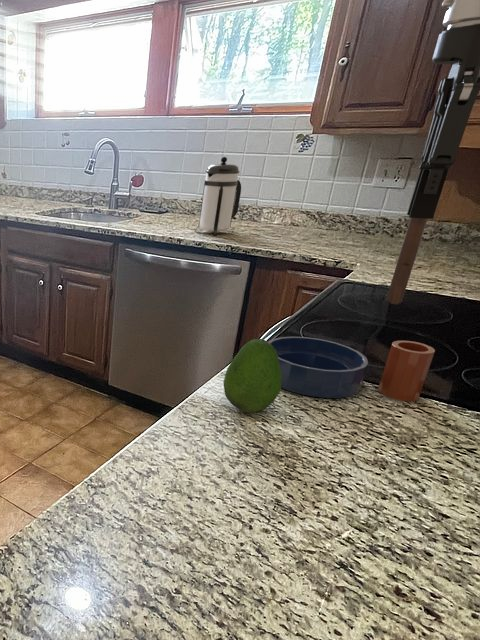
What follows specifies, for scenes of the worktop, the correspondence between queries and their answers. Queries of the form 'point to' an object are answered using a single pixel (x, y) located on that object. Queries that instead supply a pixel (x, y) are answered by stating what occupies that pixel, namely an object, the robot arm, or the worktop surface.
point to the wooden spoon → (406, 260)
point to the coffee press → (220, 197)
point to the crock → (405, 370)
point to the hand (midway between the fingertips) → (419, 216)
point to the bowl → (319, 367)
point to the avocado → (253, 377)
